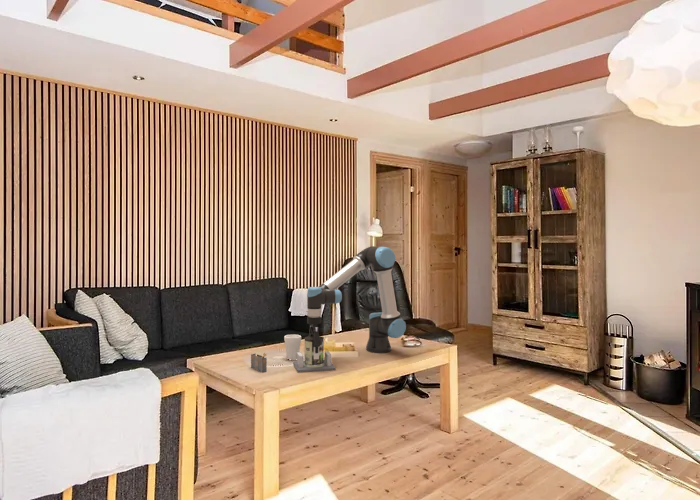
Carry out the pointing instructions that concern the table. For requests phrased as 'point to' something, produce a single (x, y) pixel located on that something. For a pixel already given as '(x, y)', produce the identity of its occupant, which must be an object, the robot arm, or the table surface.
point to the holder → (304, 368)
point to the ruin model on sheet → (259, 362)
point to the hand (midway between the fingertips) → (314, 355)
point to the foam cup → (292, 346)
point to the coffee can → (310, 352)
